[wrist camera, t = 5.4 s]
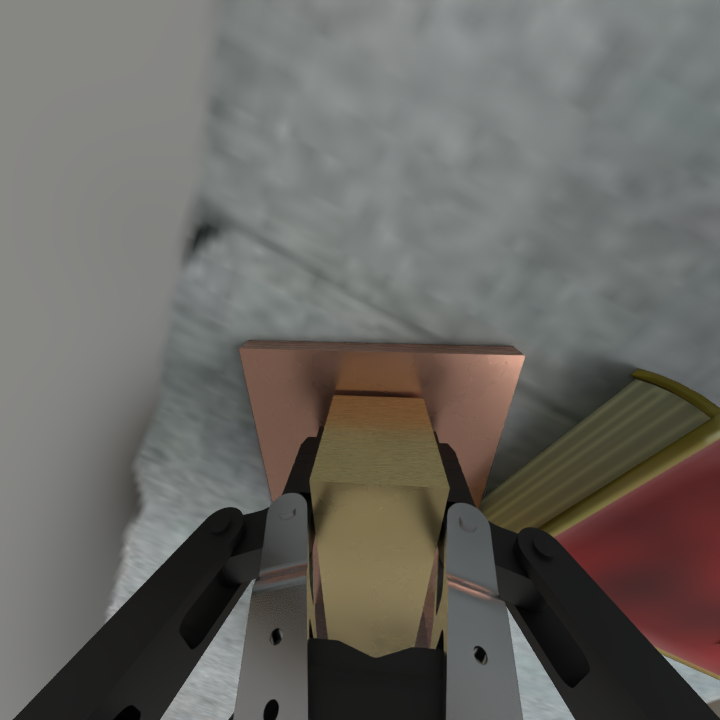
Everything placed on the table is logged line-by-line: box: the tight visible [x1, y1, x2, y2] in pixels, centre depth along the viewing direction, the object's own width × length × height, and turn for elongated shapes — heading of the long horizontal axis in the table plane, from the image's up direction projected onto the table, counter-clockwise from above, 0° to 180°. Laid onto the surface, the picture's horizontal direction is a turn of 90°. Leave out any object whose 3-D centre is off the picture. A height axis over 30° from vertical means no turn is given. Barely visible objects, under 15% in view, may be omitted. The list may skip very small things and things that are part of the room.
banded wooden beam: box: [309, 395, 450, 658], centre depth 14 cm, size 22×4×4 cm, turn 0°
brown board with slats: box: [239, 340, 525, 649], centre depth 14 cm, size 38×12×11 cm, turn 0°
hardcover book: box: [478, 369, 720, 680], centre depth 14 cm, size 12×21×4 cm, turn 59°
